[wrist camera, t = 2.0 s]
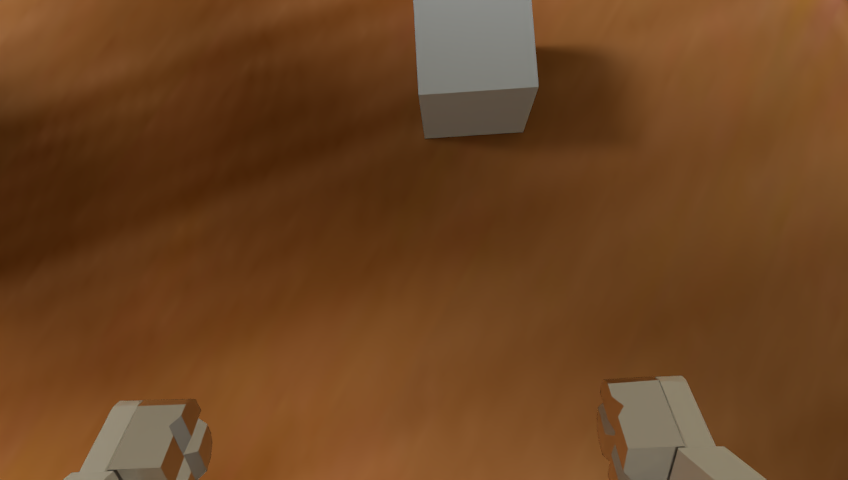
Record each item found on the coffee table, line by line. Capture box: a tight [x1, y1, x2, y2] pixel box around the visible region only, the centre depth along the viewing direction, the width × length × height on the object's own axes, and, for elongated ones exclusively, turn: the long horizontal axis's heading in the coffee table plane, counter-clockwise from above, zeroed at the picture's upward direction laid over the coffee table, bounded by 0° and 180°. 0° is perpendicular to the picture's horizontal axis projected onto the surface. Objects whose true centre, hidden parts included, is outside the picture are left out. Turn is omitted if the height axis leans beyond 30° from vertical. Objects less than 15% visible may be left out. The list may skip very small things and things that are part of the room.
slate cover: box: [413, 0, 539, 139], centre depth 35 cm, size 6×6×7 cm
